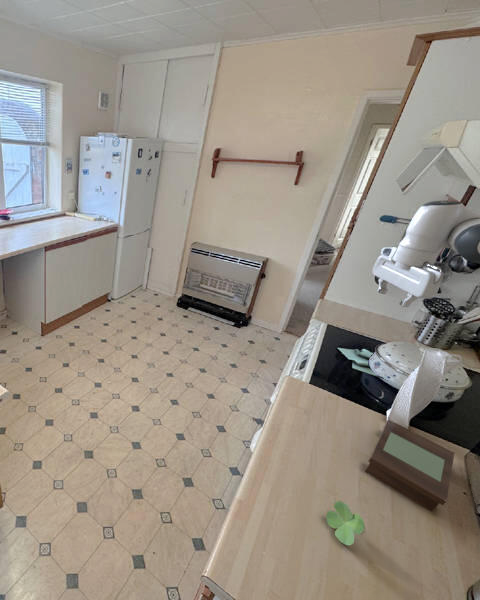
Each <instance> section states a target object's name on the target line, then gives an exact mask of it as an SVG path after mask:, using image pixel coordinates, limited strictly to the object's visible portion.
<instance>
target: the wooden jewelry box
mask: <svg viewBox="0 0 480 600" xmlns="http://www.w3.org/2000/svg"><path fill="white" fill-rule="evenodd" d="M454 459H455V452H454V451H452V450H450V449H449V448H447V447H444V446H442V445H441V444H439V443H436V442H434V441H433V440H430V439H428V438H426V437H425V436H423V435H420V434H419V433H417V432H415V431H412V430H411V429H407V428H405V427H403V426H401V425H399V424H397V423H395V422H393V421H391V420H388V421H385V424H384V426H383V428H382V430H381V432H380V435H379V437H378V439H377V441H376V444H375V446H374V448H373V450H372V452H371V454H370V456H369V459H368V461H367V462H368V464H367V465H366V467H365V469H364V472H366V473H367V474H369V475H371V476H372V477H374V478H376V479H378V480H379V481H380V482H382V483H384V484H386V485H387V486H389V487H391V488H392V489H394V490H395V491H397V492H399V493H401V494H402V495H403V496H405V497H407V498H408V499H410V500H412V501H414V502H415V503H416V504H418V505H420V506H421V507H423V508H425V509H427V510H428V511H430V512H433V511H434V510H435V509H436V508H437V507H438V506H439V505H441V506H444V505H445V504H446V503H447V501H448V494H449V490H450V482H451V478H452V477H451V476H452V471H453V465H454Z"/></svg>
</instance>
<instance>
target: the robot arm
mask: <svg viewBox="0 0 480 600" xmlns="http://www.w3.org/2000/svg"><path fill="white" fill-rule="evenodd" d="M443 249H450V250H451V249H452V251H454V252H456V253H457V254H458V255H460V257H461V258H463V260H466V261H468V262H471V263H475V264H480V214H479V213H476V212H475V211H473V210H471V209H469V208H468V207H467V206H465V205H464V203H463V202H461V201H458V200H433V201H428V202H425V203H424V204H422V205H421V206H420V207H419V208H418V209H417V211H416V212H415V214H414V215H413V217H412V219H411V220H410V222H409V223H408V226H407V227H406V231H405V235H404V237H403V239H402V240H401V241H400V242H399V243H398V246H396V247H394V246H393V247H391V246H390V247H382V249H381V250H380V254H381V255H379V256H378V257H377V259H376V261H375V262H374V265H373V267H372V270H371V271H372V275H373V276H375V277H377V278H379V279H378V288H377V290H376V292H377V293H379V294H382V295H385V294H387V292H388V290H389V288H387V287H388V284H390V285H393V286H395V287H396V288H399V289H400V290H402V291H404V292H406V293H407V297H406V298H405V299H401V300H400V302H399V305H400V306H401V307H403V308H409V307H410V306H411V304H412V303H413V302H415V301H417V300H418V299H422V300H423V299H425V300H431V299H434V298H435V297H436V295H437V294H438V292H439V289H440V287H441V285H442V282H443V278H444V275H445V273H444V271H443V270H442V267H441V266H439V265H435V263H436V261H437V259H438V256H439V255H440V254H441V251H442V250H443Z"/></svg>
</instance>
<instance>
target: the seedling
mask: <svg viewBox="0 0 480 600" xmlns="http://www.w3.org/2000/svg"><path fill="white" fill-rule="evenodd" d="M333 507H334V510H335V511H333V510H329V511H328V512H327V513H326V523H327V524H328V526H329V527H330V528H332V529H336V530H335V531H334V535H335V537H336V538H337V539H338V541H339V542H340V543H341V544H344V545H346V546H352V545H353V544H354V543H355V535H362V533H363V532H364V530H365V527H366V525H365V521H364V519H363V517H362V516H361V515H360V514H359V513H353V512H352V511H351V510H350V507H349V505H348V504H347V503H345V502H343V501H341V500H340V501H335V503H334V504H333Z"/></svg>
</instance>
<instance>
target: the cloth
mask: <svg viewBox="0 0 480 600" xmlns="http://www.w3.org/2000/svg"><path fill="white" fill-rule="evenodd" d="M337 349H338V350H339V352H341V354H343V355H344V356H345V357H346V358H347V359H348V360H351V361H352V366H351V368H352V369H353V370H357V371H360V372H362V373H365V374H369V375H371V376H375V377H378V376H377V375H376V374H375V373H374V372H373V371H372V370H371V368H370V367H369V365H368V360H369V358H370V356H371V355H372V354H373V353H374V352H371V351H369V350H368V349H366V348H363V349H361V350H359V349H357V348H355V349H349V348H343V347H342V348H341V347H337ZM378 378H379V377H378Z"/></svg>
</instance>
